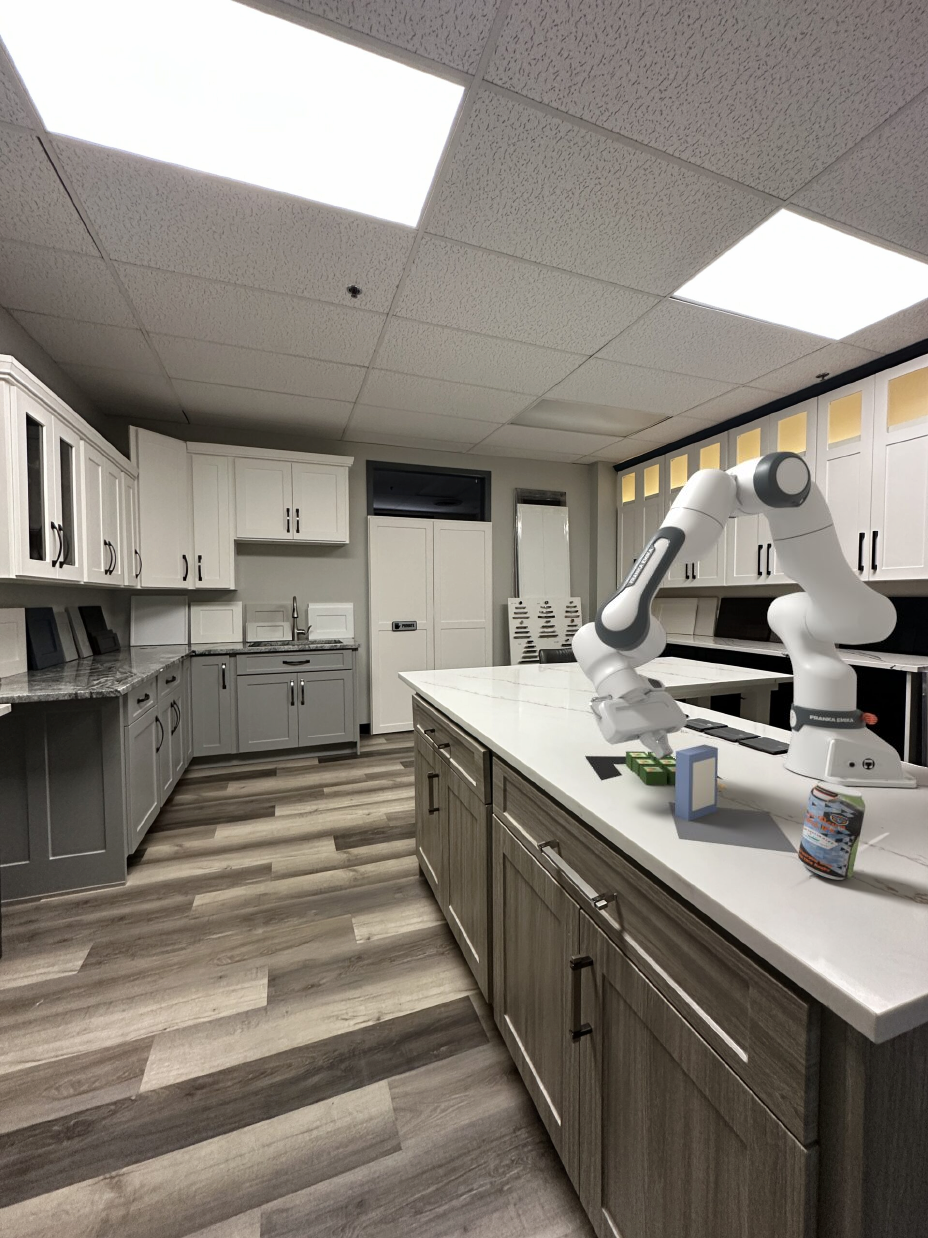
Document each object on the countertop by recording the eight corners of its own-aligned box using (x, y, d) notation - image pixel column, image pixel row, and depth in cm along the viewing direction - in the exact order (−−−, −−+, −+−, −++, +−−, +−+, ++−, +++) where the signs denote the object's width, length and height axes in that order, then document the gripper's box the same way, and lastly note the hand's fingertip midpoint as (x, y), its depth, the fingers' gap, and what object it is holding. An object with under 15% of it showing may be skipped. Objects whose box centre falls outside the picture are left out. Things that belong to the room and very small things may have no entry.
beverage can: (787, 862, 71) (789, 778, 71) (836, 860, 72) (838, 776, 72) (822, 887, 65) (824, 794, 65) (875, 885, 66) (878, 793, 65)
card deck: (675, 815, 86) (675, 751, 86) (703, 805, 90) (704, 744, 90) (689, 821, 84) (690, 755, 84) (717, 811, 88) (718, 748, 88)
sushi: (748, 802, 95) (748, 782, 95) (612, 801, 96) (613, 781, 96) (691, 760, 120) (692, 745, 120) (585, 759, 121) (585, 744, 121)
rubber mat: (768, 814, 88) (768, 812, 88) (798, 855, 73) (798, 853, 73) (668, 804, 92) (668, 802, 92) (678, 841, 78) (679, 838, 78)
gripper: (594, 688, 93) (637, 755, 85) (667, 680, 103) (711, 739, 95) (577, 708, 97) (616, 774, 89) (648, 698, 107) (689, 756, 99)
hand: (666, 756), depth 92 cm, fingers closed
